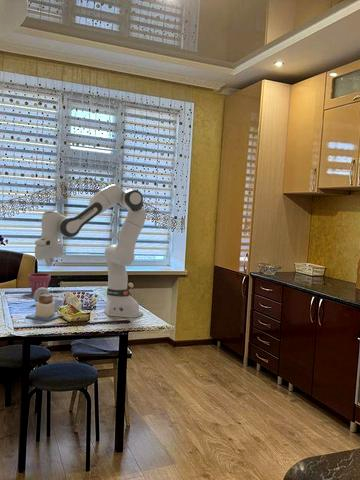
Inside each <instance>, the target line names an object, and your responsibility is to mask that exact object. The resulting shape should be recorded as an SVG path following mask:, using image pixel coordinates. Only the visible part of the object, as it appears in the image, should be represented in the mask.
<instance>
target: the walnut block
mask: <svg viewBox="0 0 360 480" xmlns="http://www.w3.org/2000/svg"><path fill="white" fill-rule="evenodd" d="M53 298H54V295H53V294H51V293H50V294H42V295H39V303H42V304H49V303H52V302H54V301H53V300H54V299H53Z"/></svg>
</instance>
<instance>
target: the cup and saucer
mask: <svg viewBox="0 0 360 480" xmlns="http://www.w3.org/2000/svg"><path fill="white" fill-rule="evenodd" d="M55 309H56V301H52V303H49V304H42V303H39V302H35V313H31V314H29V315H26V316H25V319H29V320H36V321H41V322H45V323H48V322H51V321H54V320H56V319H60V318H61V317H60V315H59V314H60V313H59V314H58V312H55V311H56V310H55Z"/></svg>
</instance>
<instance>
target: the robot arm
mask: <svg viewBox="0 0 360 480" xmlns="http://www.w3.org/2000/svg"><path fill="white" fill-rule="evenodd" d="M143 202H144V197H143V194H142V193H141V191H139V190H137V189H134V188H133V189H126V190H122V188H121V187H120V186H118V185H117V184H115V183H114V184H111V185H108V186H106V187H104V188H102V189H101V190H99V191H98V192H96V193H94V195H93V196H91V198H90V199H89V204H88V206H87V207H86V208H85V209H83V210H82V211H81V212H79V213H78V214H77V215H75V216H73V217H68V216H66V215H63V214H61V213H60V212H58V211H57V210H49V211H48V210H47V211H45V212H43V214H42V216H41V226H40V227H41V237H39V238H38V239H37V240H35V241H34V245H35V247H34V259H36V260H39V261H42V260H44V262H45V263H46V265H45V266H46V268H47V267H53V263H54V260H55V258H60V257H63V255H64V252H63V251H64V250H63V244H62V241H61V240H60V239H59V235H60V234H62V235H63V237H64V236H65V237H67V238H74V237H77V235H78V234H79V233H80V231H81V229H82V228H83V227H84V226H85V225H86V224H88V223H89V222H90V221H91V220H93V219H94V218H96V217H97V216H99V215H100V214H103V213H105V212H106V211H107V210H109V209H111V208H112V207H114V205H116V204H117V206H119V207H120V208H122V209H124V210H127V215H126V217H125V219H124V221H123V223H122V225H121V228H120V230H119V232H118V241H117V244H116V243H115V244H114V243H113V244H110V245H108V246H107V247H106V248H105V250H104V258H105V260H106V267H107V274H108V275H107V276H108V277H107V280H108V281H107V289H106V297H107V298H106V304H105V308H104V310H103V313H104V314H105V315H106V316H108V317H109V316H111V317H120V318H121V317H122V318H130V319H134V318H138V317H140V316H142V315H144V312H143V311H142V310H140V305H139V303H138V301H136V300H135V299H134V298H133V297H132V296H131V295H130V294H131V292H132V290H131V289H128V281H129V280H128V278H129V277H128V272H127V269H126V266H130V265H132V263H133V262H134V261H135V250H136V249H135V248H136V244H137V240H138V238H139V236H140V234H141V231H142V230H143V227H144V224H145V221H146V218H147V211H146V210H145V209H144V208H143V206H144V204H143Z"/></svg>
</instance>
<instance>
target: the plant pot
mask: <svg viewBox="0 0 360 480" xmlns="http://www.w3.org/2000/svg"><path fill="white" fill-rule="evenodd" d="M27 276H28V277H27V279H28V281H29V284H30V289H31V290H30V291H31V294H33V295H34V293H35V291H36V290H37V289H39V288H46V289H48V288H49V284H50V281H51V279H52V278H51V274H50V273H45V272H44V273H43V272H42V273H41V272H40V273H39V272H38V273H37V272H35V273H30V274H28V275H27ZM42 294H44V293H41V294H40V295H42Z"/></svg>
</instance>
